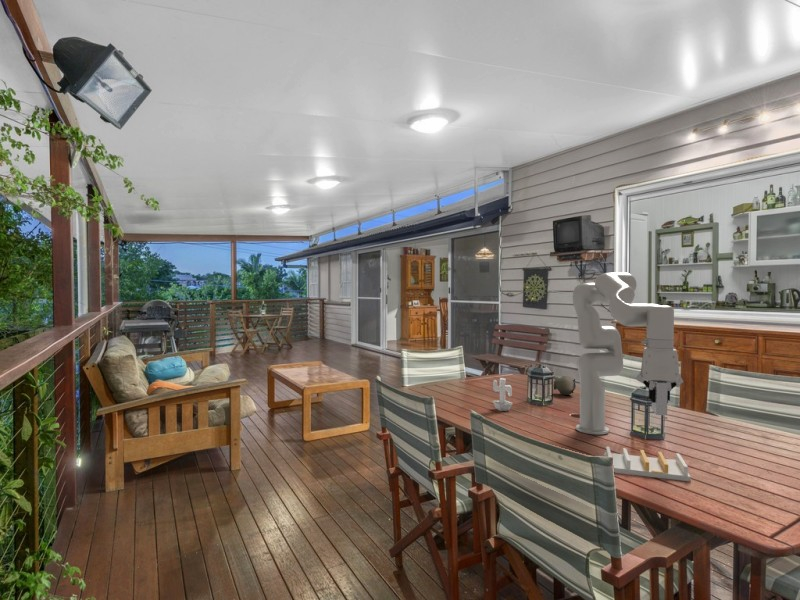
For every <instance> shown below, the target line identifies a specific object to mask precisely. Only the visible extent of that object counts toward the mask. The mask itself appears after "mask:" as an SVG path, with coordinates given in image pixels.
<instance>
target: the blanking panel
mask: <svg viewBox="0 0 800 600" xmlns="http://www.w3.org/2000/svg"><path fill="white" fill-rule="evenodd" d="M653 388H654V390H655V402H654V403H652V402H651V409H652V411H653V413H654V414H655V415H657V416H665V417H666V416H668V404H667V393H668V383H667V382H666V381H654V387H653Z"/></svg>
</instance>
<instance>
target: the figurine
mask: <svg viewBox="0 0 800 600" xmlns="http://www.w3.org/2000/svg"><path fill="white" fill-rule="evenodd" d="M506 380H507V379H506V378H504V377H499V383H498V381H497V379H494V380H493V381H492V390H493V391H494V392H495V393H498V392H499V399H498V400H492V403H493V405H494V407H495V409H496V410H498V411H500V412H504V411H505V412H507V411H510V409H511V408H512V406H513V405H514V403H513V402H511V401H509V400H507V399H506V392H507V396H508V397H512V395H513V388H512V386H511V384H506ZM498 384H499V385H498Z"/></svg>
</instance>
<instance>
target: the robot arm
mask: <svg viewBox="0 0 800 600" xmlns="http://www.w3.org/2000/svg"><path fill="white" fill-rule="evenodd" d="M636 290H637V280H636V277H635V276H633V274H631V273H629V272H604V273H600V274H599V275H598V276H596V278H595V280H594V282H585V283H579V284H578V285H576V286H575V287H574V288H573V291H572V302H573V303H572V304H573V307H574V309H575V314H576V317H577V326H578V328H577V330H578V341H579V344H580V347H581V348H582V349H585V350H605V352H587V353H586V352H585V353H582V354H581V355H579V356H578V358H577V364H576V365H577V371H578V375H579V376H578V377H579V423H578V424H576V425H575V430H577V431H578V432H580V433H583V434H586V435H587V434H588V435H595V436H596V435H600V436H601V435H607V434H609V433H610V428H609V427H608V426H606V387H605V385H604V383H603V382H602V380H601V378H600V377H616V376H617V377H618V376H619V375H621V374H622V373H623V371H624V370H623V369H624V357H623V355H624V354H623V347H622V338H621V334H620V332H619V330H618V329H617V328H616V327H615V326H612V325H601V320H600V319H601V316H600V314H599V312H598V310H597V309H596V308H595V307H594V306H593V304H596V305H597V304H598V305H599V304H600V305H601V304H603V305H605V304H606V305H607V304H608V309H609V312H610V315H611V317H612V318H613V319H614V320H615V321H616V322H617V323H619V324H620V325H622V326H625V327H630V328H631V327H646V338H645V339H641V341H640V342H641V345H644V346H646V347H644V348H643V351H642V356H641V357H642V358H641V366H640V367H641V370H640V372H639V373H638V375H637V376H636V381H638V382H639V383H641V384H643V385H645V386H646V388H648V400H650V402H651V404H652V403H654V402H655V390H654V388H653V387H654V381H666V382H667V383H668V393H667V405H668V404H669V401H671V391H672V390H673V389H674V388H675V387H676V386H679V385H681V384H683V383H684V380H683V378H682V377H681V375H680V363H679V354H678V351H677V349H676V348H675V347H674V346H675V345H674V342H675V341H674V339H675V338H674V335H675V333H674V332H675V309H674V308H673V306H671V305H661V304H657V303H632V302H634V299H635V291H636Z"/></svg>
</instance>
